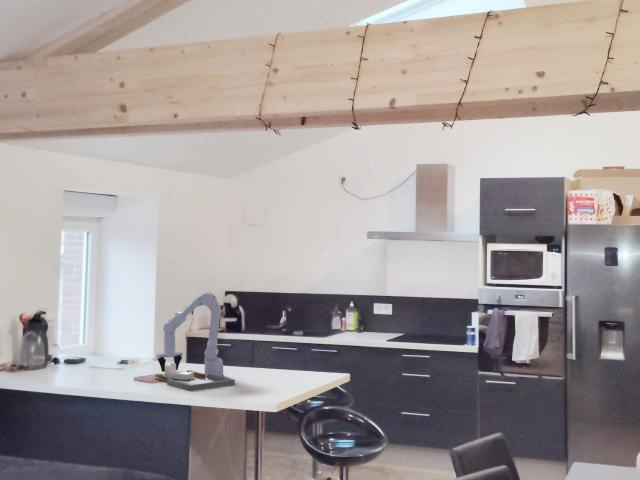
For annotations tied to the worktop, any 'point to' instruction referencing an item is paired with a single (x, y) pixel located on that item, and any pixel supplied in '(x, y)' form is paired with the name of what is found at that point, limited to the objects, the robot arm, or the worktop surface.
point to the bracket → (177, 373)
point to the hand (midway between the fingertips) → (169, 370)
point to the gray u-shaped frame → (219, 382)
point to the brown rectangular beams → (164, 378)
